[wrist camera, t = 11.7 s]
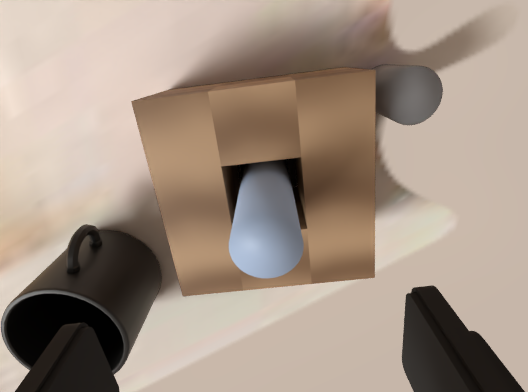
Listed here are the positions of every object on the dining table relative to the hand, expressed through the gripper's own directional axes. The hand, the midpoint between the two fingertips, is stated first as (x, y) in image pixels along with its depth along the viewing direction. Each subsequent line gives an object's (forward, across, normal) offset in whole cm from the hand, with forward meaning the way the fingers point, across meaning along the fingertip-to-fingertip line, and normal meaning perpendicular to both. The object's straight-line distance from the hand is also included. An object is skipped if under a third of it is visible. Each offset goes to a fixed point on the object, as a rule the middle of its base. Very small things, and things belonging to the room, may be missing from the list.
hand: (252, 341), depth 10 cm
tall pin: (+20, -1, +1) cm, 20 cm away
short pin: (+20, -11, -4) cm, 23 cm away
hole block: (+20, -1, +1) cm, 20 cm away
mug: (+20, +15, +9) cm, 27 cm away
